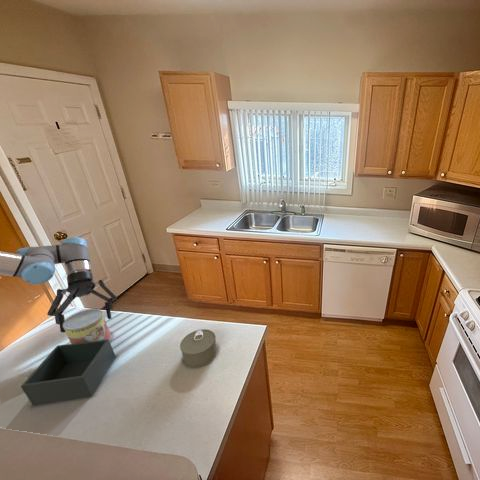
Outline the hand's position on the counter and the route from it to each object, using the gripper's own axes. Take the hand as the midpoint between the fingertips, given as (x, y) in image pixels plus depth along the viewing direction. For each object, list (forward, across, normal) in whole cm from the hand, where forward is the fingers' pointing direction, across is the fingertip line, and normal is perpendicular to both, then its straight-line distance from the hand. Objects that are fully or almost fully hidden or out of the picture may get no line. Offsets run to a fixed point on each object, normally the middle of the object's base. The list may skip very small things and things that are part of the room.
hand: (87, 325), depth 98 cm
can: (+27, -34, +15) cm, 46 cm away
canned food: (+7, 0, -5) cm, 8 cm away
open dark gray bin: (+19, +2, +8) cm, 20 cm away
